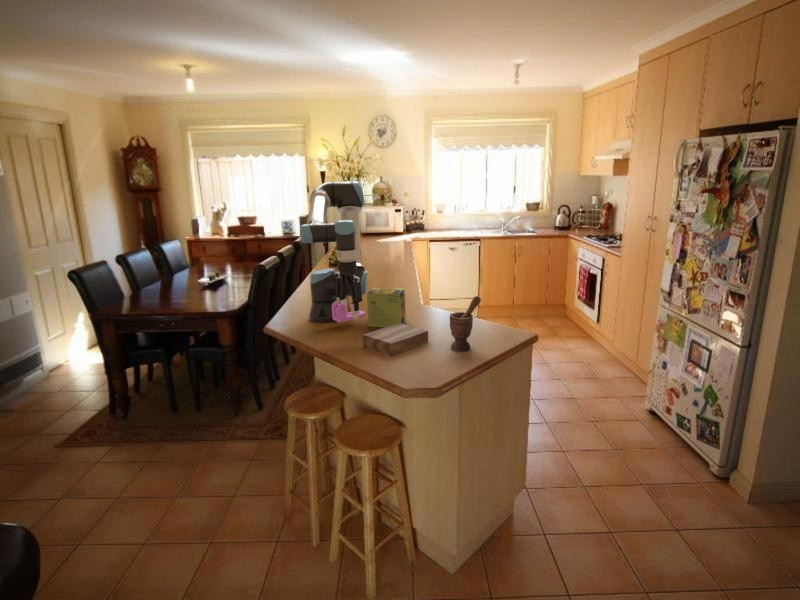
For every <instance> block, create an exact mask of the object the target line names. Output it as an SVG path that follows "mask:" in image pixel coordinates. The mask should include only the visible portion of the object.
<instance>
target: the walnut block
mask: <svg viewBox="0 0 800 600" xmlns="http://www.w3.org/2000/svg"><path fill="white" fill-rule="evenodd" d="M362 340H363V341H362V342H363V348H365V349H368V350H371V351H374V352H376V353H377V352H378V353H381V354H384V355H385V356H389V357H395V356H398V355H400V354H403V353H405V352H408V351H410V350H413V349H416V348H418V347H421V346H424V345H427V344H428V343H429V330H428V329H423V328H419V327H416V326H412V325H408V324H405V323H404V324H401V323H398V324H395V325H392V326H389V327H381V328H380V329H377V330H374V331H370V332H367V333H364V334H362ZM423 344H424V345H423Z"/></svg>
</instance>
